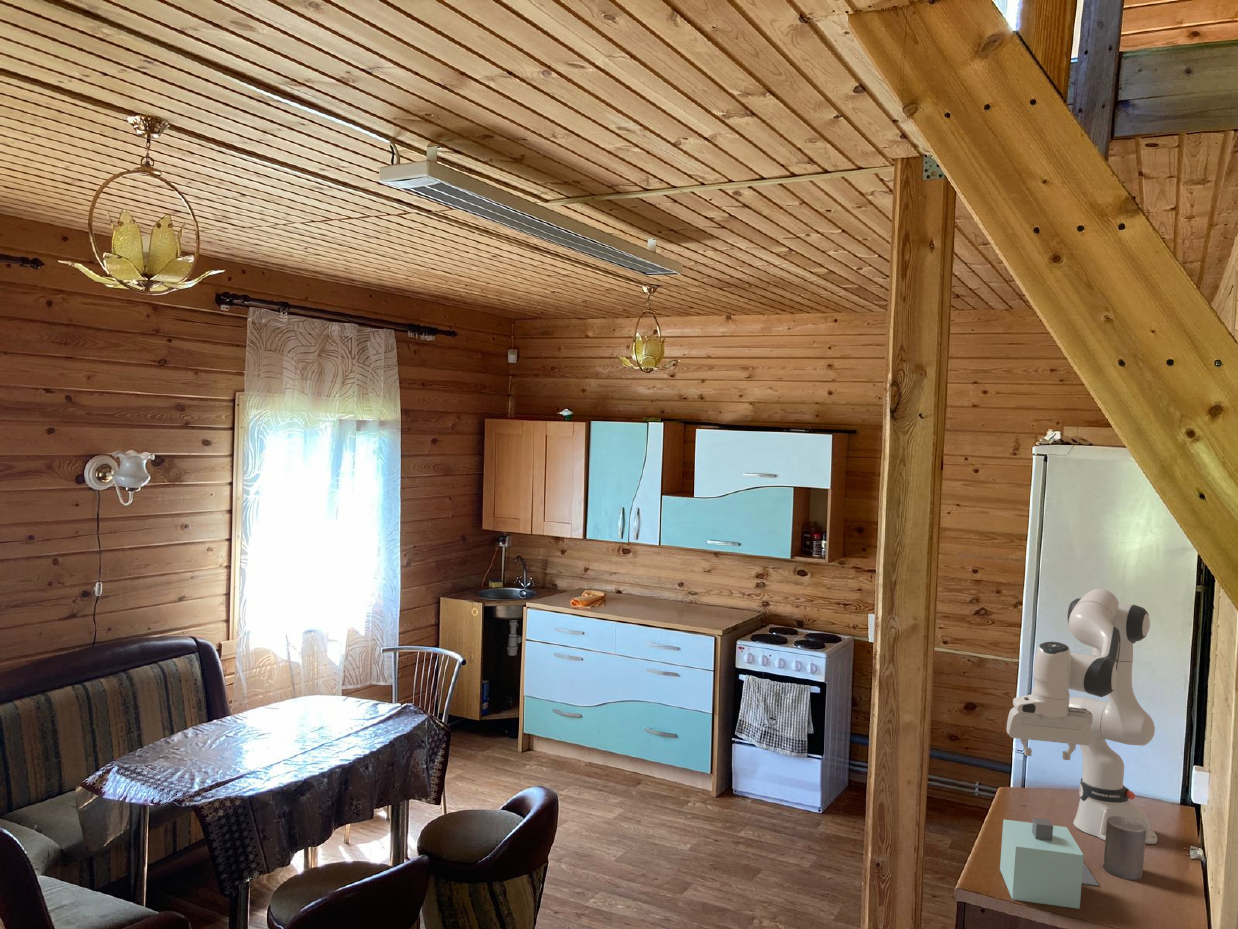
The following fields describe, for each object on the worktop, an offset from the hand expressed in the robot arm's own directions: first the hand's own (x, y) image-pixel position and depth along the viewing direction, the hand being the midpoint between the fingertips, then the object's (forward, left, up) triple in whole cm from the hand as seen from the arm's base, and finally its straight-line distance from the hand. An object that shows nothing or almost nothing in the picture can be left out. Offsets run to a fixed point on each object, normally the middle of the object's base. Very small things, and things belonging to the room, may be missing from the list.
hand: (1046, 757), depth 243 cm
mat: (-7, -15, -35) cm, 38 cm away
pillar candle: (-26, -17, -35) cm, 46 cm away
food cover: (0, +1, -35) cm, 35 cm away
